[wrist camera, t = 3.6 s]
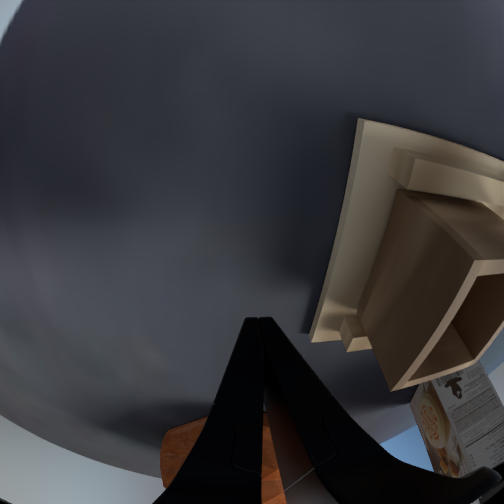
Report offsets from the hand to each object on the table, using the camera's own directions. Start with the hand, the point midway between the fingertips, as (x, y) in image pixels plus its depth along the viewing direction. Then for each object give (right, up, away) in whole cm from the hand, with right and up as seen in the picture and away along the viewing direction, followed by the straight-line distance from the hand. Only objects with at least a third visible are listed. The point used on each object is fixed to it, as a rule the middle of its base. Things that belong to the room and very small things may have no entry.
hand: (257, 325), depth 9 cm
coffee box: (+20, -11, +15) cm, 28 cm away
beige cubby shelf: (+13, +2, +5) cm, 15 cm away
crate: (+9, +2, +4) cm, 10 cm away
